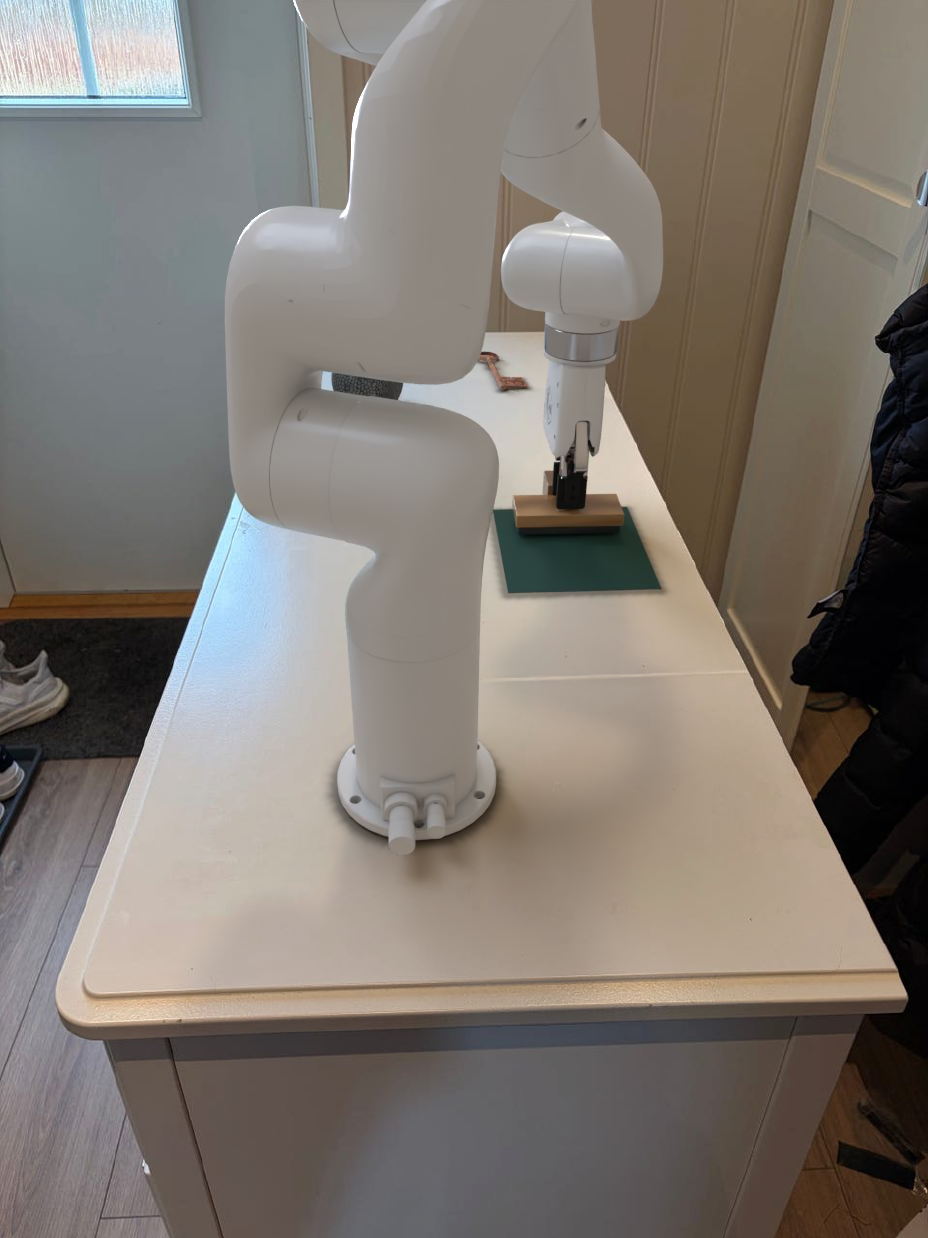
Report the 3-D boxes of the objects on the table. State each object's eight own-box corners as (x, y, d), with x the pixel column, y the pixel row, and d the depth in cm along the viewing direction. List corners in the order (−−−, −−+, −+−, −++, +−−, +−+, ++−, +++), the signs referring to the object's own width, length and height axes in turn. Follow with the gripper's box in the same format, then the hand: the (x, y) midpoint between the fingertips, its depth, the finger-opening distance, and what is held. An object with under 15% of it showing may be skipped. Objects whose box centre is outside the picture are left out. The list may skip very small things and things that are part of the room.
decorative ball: (418, 410, 141) (417, 341, 135) (373, 433, 134) (369, 362, 129) (365, 394, 146) (362, 327, 140) (318, 415, 139) (313, 346, 134)
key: (527, 391, 148) (507, 356, 160) (528, 385, 148) (508, 350, 160) (489, 390, 147) (472, 354, 159) (490, 384, 146) (473, 349, 159)
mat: (661, 591, 102) (661, 588, 102) (508, 595, 102) (508, 592, 101) (626, 508, 117) (627, 506, 117) (492, 511, 116) (492, 509, 116)
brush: (622, 533, 111) (630, 464, 106) (515, 535, 110) (519, 466, 105) (614, 512, 115) (621, 445, 110) (511, 514, 114) (514, 446, 110)
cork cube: (580, 516, 115) (582, 485, 113) (546, 516, 115) (548, 485, 113) (575, 500, 118) (577, 469, 116) (542, 500, 118) (543, 470, 116)
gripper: (534, 315, 107) (526, 470, 117) (554, 368, 94) (543, 537, 104) (603, 315, 107) (589, 469, 118) (633, 367, 94) (614, 536, 105)
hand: (568, 500), depth 111 cm, fingers closed on brush, 2 cm apart
